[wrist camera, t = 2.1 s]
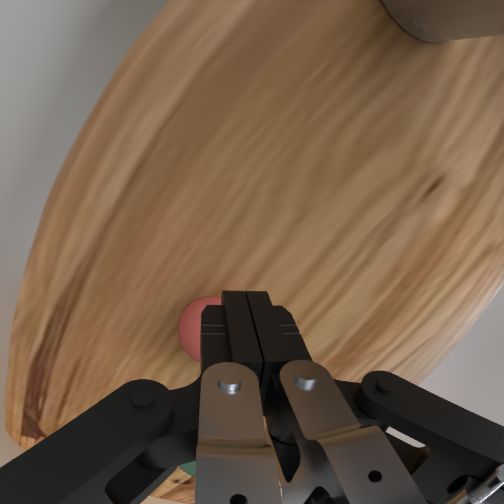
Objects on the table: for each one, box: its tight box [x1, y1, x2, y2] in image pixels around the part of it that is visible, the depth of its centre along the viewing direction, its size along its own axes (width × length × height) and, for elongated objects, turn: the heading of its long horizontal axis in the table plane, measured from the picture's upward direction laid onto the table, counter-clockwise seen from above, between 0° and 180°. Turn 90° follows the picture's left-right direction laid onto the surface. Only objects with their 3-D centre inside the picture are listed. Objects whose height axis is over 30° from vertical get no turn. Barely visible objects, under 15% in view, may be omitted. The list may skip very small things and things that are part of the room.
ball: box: [178, 296, 221, 362], centre depth 24 cm, size 6×6×6 cm
